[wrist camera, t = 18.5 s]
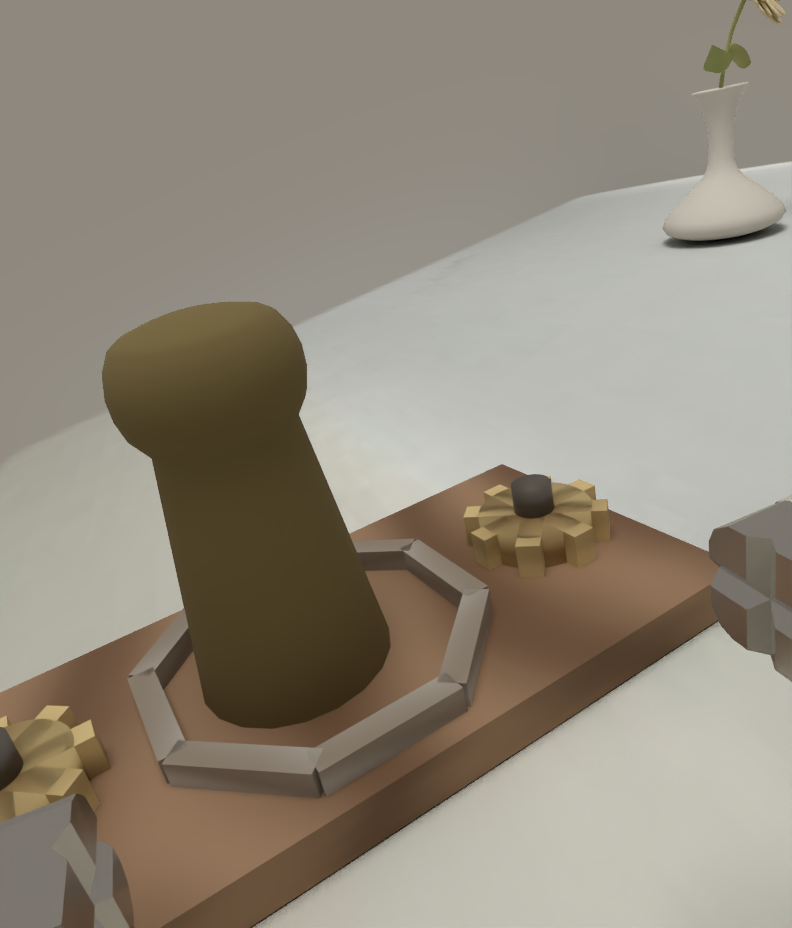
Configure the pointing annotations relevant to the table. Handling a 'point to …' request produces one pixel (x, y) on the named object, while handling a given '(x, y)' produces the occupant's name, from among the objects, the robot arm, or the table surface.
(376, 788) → the gear board
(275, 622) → the cork
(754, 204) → the flower in vase
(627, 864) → the table surface
